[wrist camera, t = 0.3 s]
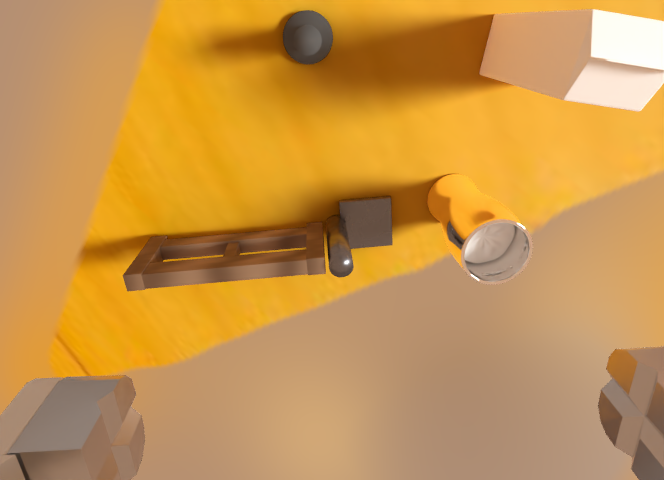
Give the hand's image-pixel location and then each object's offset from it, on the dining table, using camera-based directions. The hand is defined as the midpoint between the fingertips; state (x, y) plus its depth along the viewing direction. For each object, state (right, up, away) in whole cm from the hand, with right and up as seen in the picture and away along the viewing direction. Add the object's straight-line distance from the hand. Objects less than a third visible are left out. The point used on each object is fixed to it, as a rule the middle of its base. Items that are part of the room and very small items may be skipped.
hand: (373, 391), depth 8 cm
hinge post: (+2, +5, +50) cm, 50 cm away
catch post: (-3, +23, +41) cm, 47 cm away
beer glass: (+14, +8, +49) cm, 51 cm away
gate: (-12, +3, +49) cm, 50 cm away
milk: (+18, +23, +43) cm, 52 cm away
